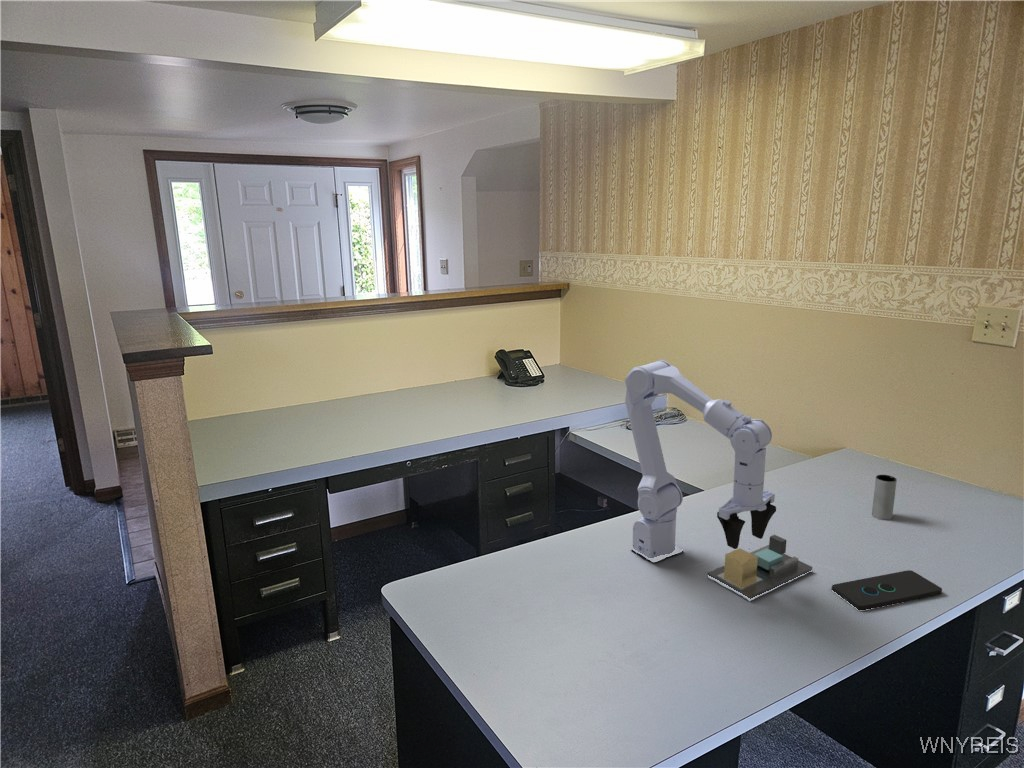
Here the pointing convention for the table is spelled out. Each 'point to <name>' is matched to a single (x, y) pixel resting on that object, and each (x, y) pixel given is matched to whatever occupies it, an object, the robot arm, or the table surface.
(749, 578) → the block
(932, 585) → the smart home device
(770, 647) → the table surface
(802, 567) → the press bed
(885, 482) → the grey cylinder
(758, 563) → the teal and grey block
